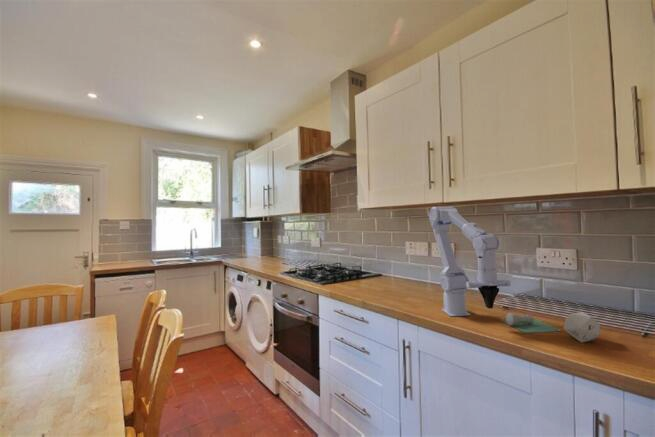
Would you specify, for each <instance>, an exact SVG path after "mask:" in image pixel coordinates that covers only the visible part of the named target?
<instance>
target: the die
mask: <svg viewBox="0 0 655 437" xmlns="http://www.w3.org/2000/svg"><path fill="white" fill-rule="evenodd" d="M563 330H564V331H565V332H566V333H568V334H569V335H571V337H573V338H574V339H576V340H577V341H578V342H580V343H586V342H590V341H595V340H596V339H598V337H599V336H600V331H601V324H600V323H599V322H598V321H597V320H596V319H595V318H593V317H592V316H590V315H588V314H586V313H585V312H583V311H580V312H576V313H575V312H573V313H569V314H568V315H567V317H566V318H565V320H564V326H563Z"/></svg>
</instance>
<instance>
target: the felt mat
mask: <svg viewBox="0 0 655 437" xmlns="http://www.w3.org/2000/svg"><path fill="white" fill-rule="evenodd" d="M532 319H534V320H533V321H534V323H531V324H528V323H526V324H525V323H519V324H517V325H515V326H511V327H513V328H514V329H516V330H517V331H520V332H522V333H524V334H536V333H541V334H542V333H555V332H560V333H561V332H562V330H561V329H559V328H557V327H554V326H552V325H549V324H548V323H545V322H543V321H541V320H539V319H536V318H534V317H533V318H532ZM500 321H502V322H503V323H505V324H507V325H509V324H508V323H507V321H506V318H500Z"/></svg>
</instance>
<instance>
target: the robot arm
mask: <svg viewBox="0 0 655 437" xmlns="http://www.w3.org/2000/svg"><path fill="white" fill-rule="evenodd" d="M428 219H429V223H430V225H431V228H432V230H433V234H434V238H435V241H436V245H437V248H438V252H439V255H440V260H441V262H442V266H443V269H442V271H441V272H440V273H439V278H440V281H439V282H440V286H441V288H442V290H443V291H444V292H443V294H442V296H443V298H442V299H443V308H441V310H442V311H443V312H444V313H446V314H447V315H448V316H450V317H465V316H466V317H467V316H471V313H469V312H468V311H467V305H466V292H467V289H473V288H477V290H478V291H479V292H480V294H481V296H482V299H483V302H484V305H485V307H486V308H487V309H493V308H494V305H495V304H494V303H495V300H496V298H497V295H498V294H499V292H500V288H499V287H511V281H510V280H509V279H498V273H497V272H498V271H497V255H496V254H497V252H496V250H497V249H499V246H500V241H499V238H498V236H496V234H495V233H489V232H487V231H486V230H484V229H482V228H481V227H479V225H478V224H477V223H476V222H468V221H467V220H466V219H465V218H464V217H463V216H462V215H461V214H460V213H459V210H458V209H457V208H455V206H451V205H449V206H432V207H431V208H430V210H429V213H428ZM452 225H454V226H456V227H458V228H459V229H461V233H462V235H463V236H464V237H465V238H466V239H468V240H469V241H470V242H471V243H472V246H473V249H474V250H475V255H476V257H477V274H478V275H477V276H478V280H471V281H470V279H469V277H468V275H466V273H465V270H464V269H462V268H461V267H460V266H459V265H458V263H457V259H456V256H455V253H454V250H453V247H452V242H451V240H450V236H449V233H448V228H451V227H452Z"/></svg>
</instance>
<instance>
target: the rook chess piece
mask: <svg viewBox="0 0 655 437" xmlns="http://www.w3.org/2000/svg"><path fill="white" fill-rule="evenodd" d="M532 318H534V317H533V316H532V315H530V314H526V315H524V314H523V315H520V314H516V313H514V312H507V313H506V315H505V319H506V321H507V323H508V324H507V323H506V324H507V325H509V326H511V327H512V326H515V325H517V324H519V323H525V324H526V323H528V324H531V323H534V321H533V320H534V319H532Z"/></svg>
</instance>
